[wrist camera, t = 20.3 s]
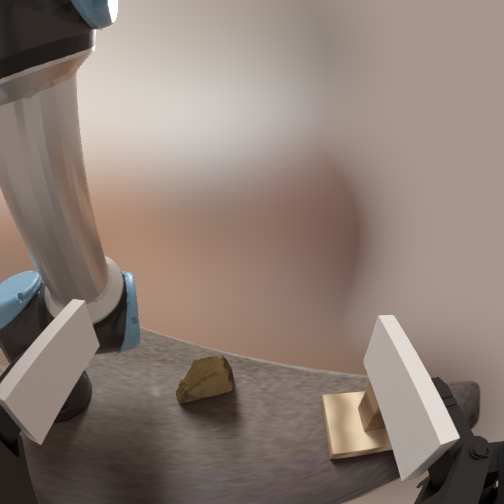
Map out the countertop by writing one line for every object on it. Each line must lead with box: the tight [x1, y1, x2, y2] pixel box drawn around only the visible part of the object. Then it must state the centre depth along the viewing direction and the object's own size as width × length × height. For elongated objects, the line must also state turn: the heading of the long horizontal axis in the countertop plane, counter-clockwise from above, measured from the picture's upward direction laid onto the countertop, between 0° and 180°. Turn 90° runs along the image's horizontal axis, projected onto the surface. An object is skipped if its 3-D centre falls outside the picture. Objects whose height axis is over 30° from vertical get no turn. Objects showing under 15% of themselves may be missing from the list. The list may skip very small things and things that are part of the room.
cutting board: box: [321, 391, 392, 459], centre depth 36 cm, size 16×12×2 cm
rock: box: [176, 356, 234, 403], centre depth 44 cm, size 11×9×10 cm
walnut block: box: [358, 382, 386, 432], centre depth 34 cm, size 5×5×10 cm
